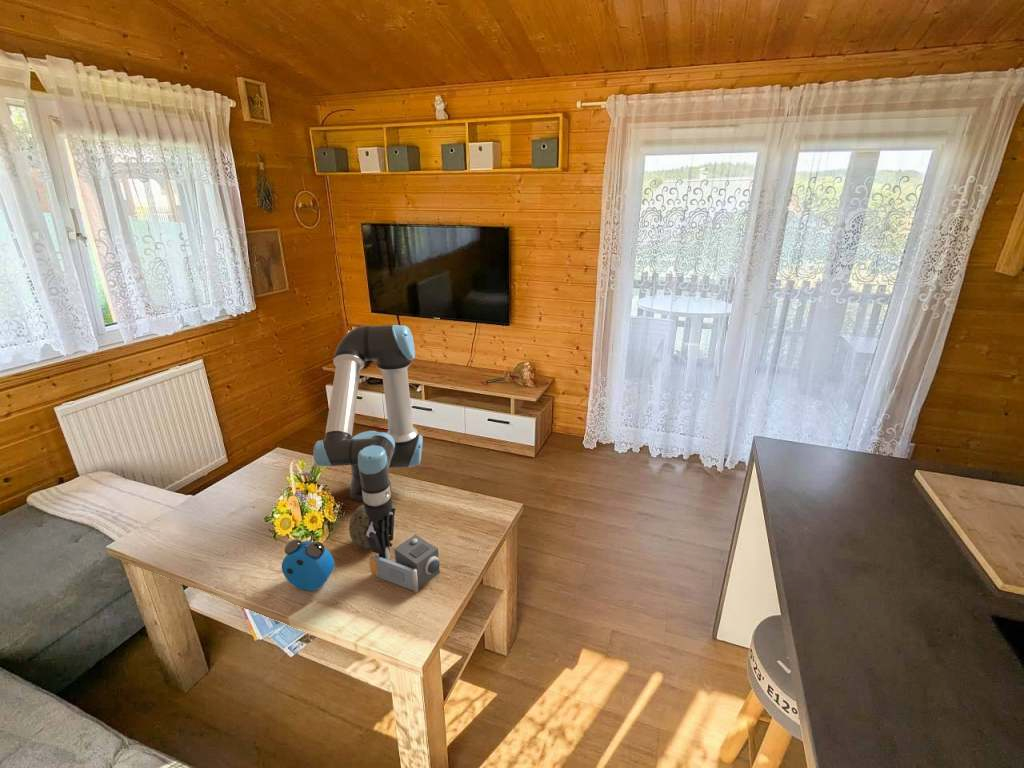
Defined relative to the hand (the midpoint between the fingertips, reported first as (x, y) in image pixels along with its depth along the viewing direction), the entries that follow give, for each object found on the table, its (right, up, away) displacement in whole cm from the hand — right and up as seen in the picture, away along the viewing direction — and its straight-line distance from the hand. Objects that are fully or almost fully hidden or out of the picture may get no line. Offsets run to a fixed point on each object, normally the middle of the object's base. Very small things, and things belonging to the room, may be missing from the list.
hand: (385, 565), depth 143 cm
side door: (+4, -4, -4) cm, 6 cm away
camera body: (+10, -2, 0) cm, 10 cm away
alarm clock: (-20, -4, -4) cm, 21 cm away
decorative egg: (-8, +2, +12) cm, 14 cm away
